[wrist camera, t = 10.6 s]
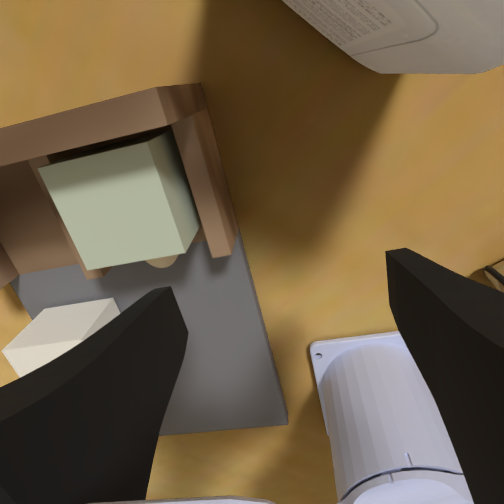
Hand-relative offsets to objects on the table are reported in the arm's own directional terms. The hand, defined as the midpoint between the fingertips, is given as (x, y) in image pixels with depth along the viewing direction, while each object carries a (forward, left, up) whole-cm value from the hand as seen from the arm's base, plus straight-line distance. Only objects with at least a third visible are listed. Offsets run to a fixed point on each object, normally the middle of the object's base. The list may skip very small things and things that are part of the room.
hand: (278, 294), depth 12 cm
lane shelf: (+3, +10, -9) cm, 14 cm away
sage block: (+2, +7, -8) cm, 11 cm away
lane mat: (-9, +10, -9) cm, 17 cm away
